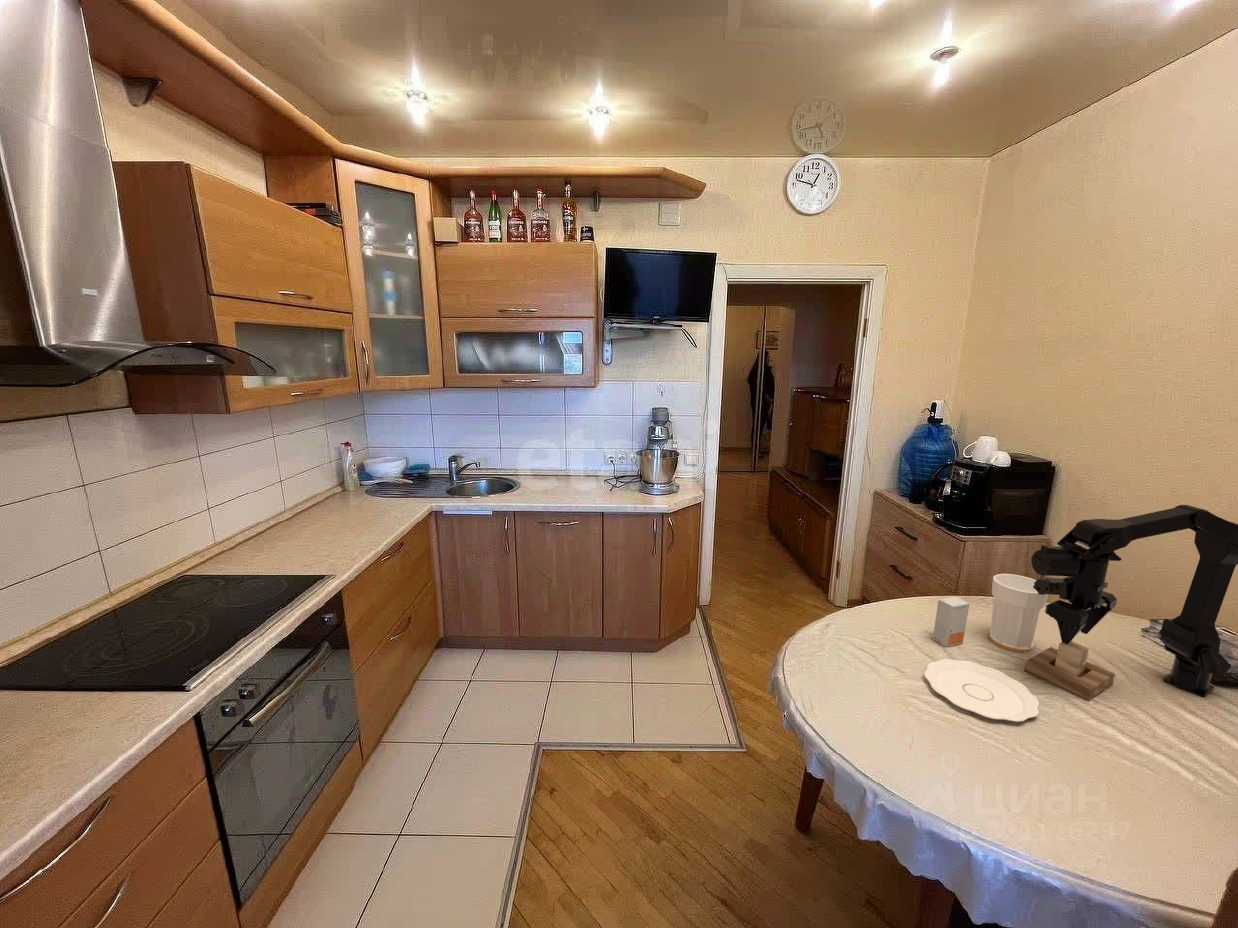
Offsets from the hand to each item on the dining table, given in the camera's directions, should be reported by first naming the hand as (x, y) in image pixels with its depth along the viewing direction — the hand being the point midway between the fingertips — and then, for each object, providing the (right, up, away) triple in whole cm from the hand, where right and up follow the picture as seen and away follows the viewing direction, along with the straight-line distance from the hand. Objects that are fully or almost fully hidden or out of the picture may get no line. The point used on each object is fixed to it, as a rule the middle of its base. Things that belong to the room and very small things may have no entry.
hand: (1074, 638), depth 111 cm
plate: (-24, -12, -2) cm, 27 cm away
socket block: (0, -10, +2) cm, 11 cm away
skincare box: (-18, -8, +18) cm, 26 cm away
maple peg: (0, -10, +2) cm, 10 cm away
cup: (-1, -8, +17) cm, 18 cm away
